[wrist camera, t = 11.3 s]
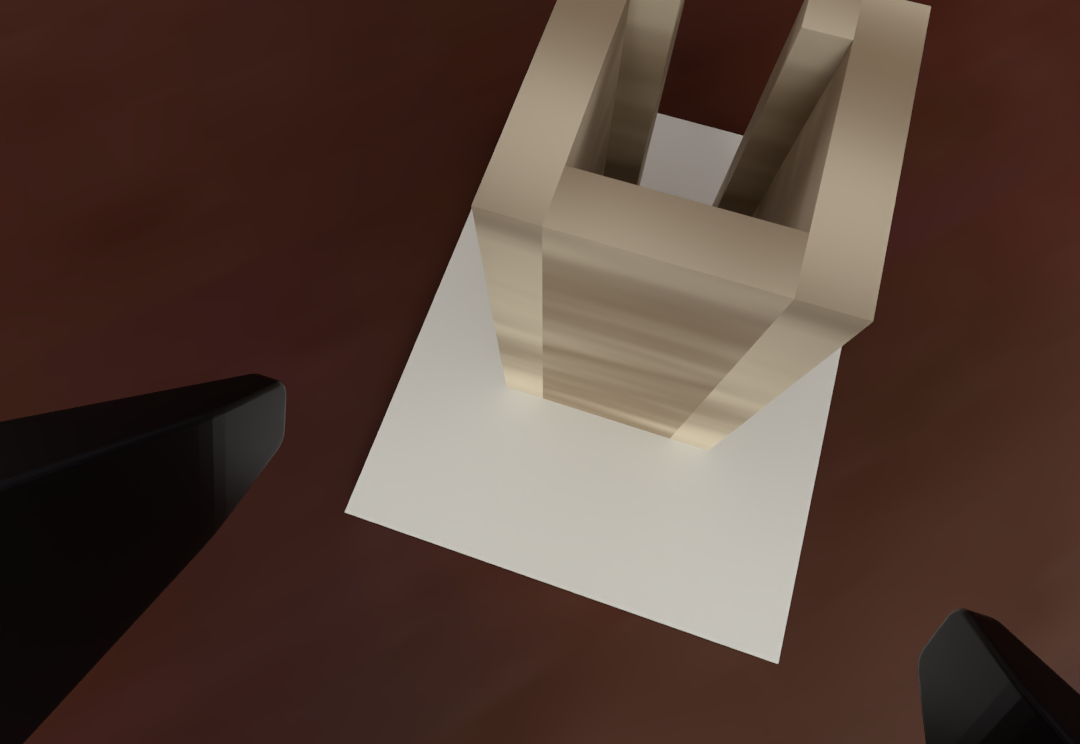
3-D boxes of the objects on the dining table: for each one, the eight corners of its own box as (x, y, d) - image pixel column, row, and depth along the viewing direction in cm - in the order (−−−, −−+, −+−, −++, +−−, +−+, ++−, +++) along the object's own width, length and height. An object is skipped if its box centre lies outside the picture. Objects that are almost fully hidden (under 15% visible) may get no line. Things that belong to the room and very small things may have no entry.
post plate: (764, 659, 20) (837, 685, 15) (355, 516, 21) (298, 497, 17) (861, 189, 25) (938, 95, 20) (527, 99, 27) (523, -10, 22)
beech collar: (708, 450, 21) (872, 321, 10) (506, 386, 22) (471, 205, 11) (754, 267, 23) (931, 6, 12) (568, 214, 24) (588, -74, 13)
